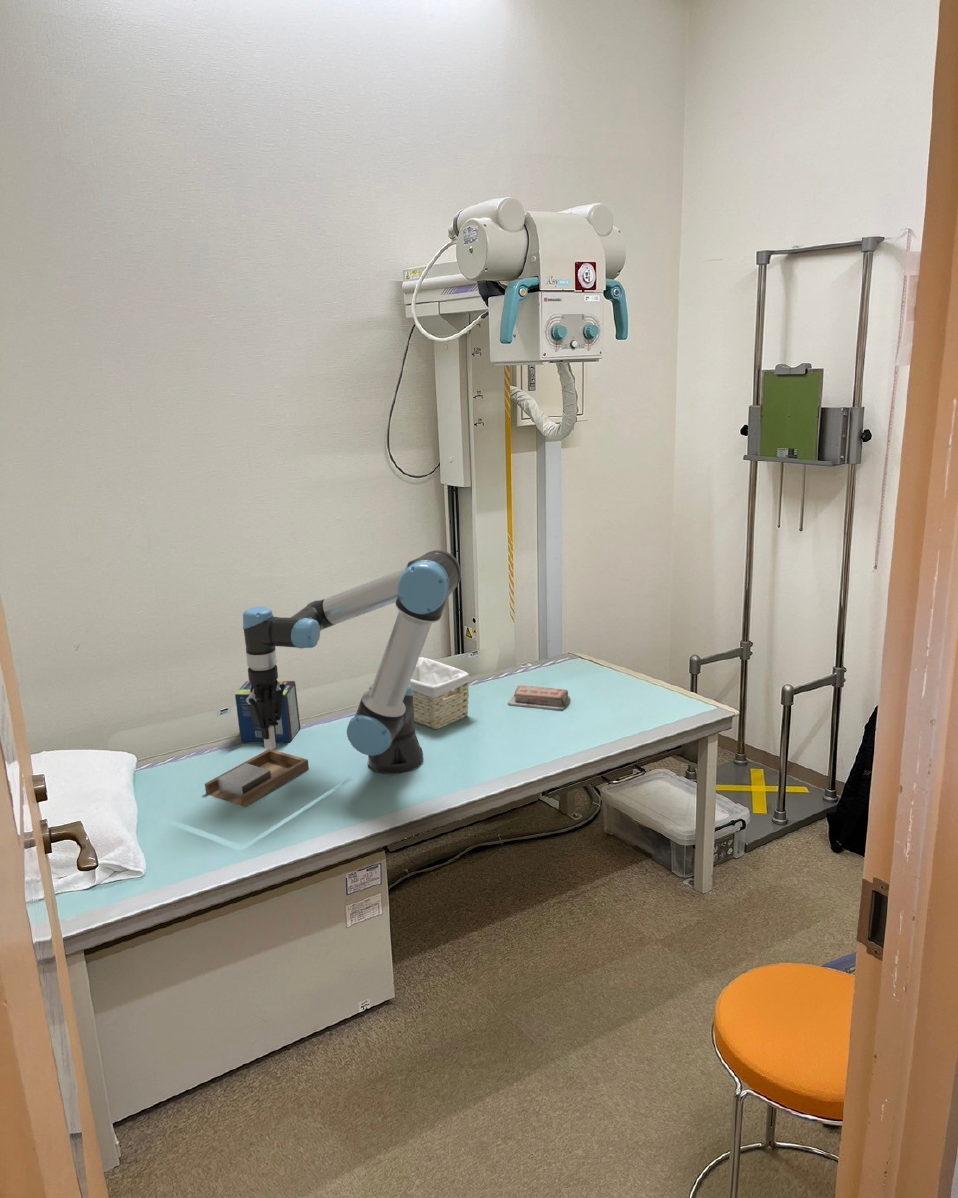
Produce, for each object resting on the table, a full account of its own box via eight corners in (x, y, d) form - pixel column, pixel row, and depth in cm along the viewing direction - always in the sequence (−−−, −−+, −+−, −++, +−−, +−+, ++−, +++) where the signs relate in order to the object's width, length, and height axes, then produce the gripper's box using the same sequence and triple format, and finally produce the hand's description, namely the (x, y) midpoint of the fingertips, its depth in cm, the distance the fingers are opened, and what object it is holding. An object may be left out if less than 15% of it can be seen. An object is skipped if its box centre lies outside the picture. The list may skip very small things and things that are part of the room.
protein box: (251, 728, 279) (246, 680, 275) (301, 728, 278) (296, 680, 273) (239, 743, 269) (233, 694, 265) (290, 743, 268) (285, 694, 263)
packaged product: (570, 686, 290) (562, 698, 281) (571, 700, 291) (562, 712, 282) (516, 681, 296) (506, 692, 287) (517, 694, 297) (507, 706, 288)
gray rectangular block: (271, 784, 241) (270, 770, 240) (243, 800, 233) (241, 786, 232) (247, 776, 246) (245, 763, 245) (219, 792, 238) (217, 778, 237)
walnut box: (309, 773, 249) (307, 759, 248) (245, 811, 230) (244, 796, 229) (270, 761, 257) (269, 748, 255) (206, 797, 238) (204, 783, 237)
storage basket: (474, 716, 281) (472, 671, 277) (435, 734, 270) (432, 687, 266) (421, 697, 297) (419, 654, 293) (383, 713, 287) (380, 668, 282)
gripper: (269, 655, 246) (277, 736, 253) (233, 671, 236) (242, 754, 243) (290, 660, 243) (297, 742, 249) (254, 676, 232) (262, 761, 239)
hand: (270, 748), depth 246 cm, fingers closed
